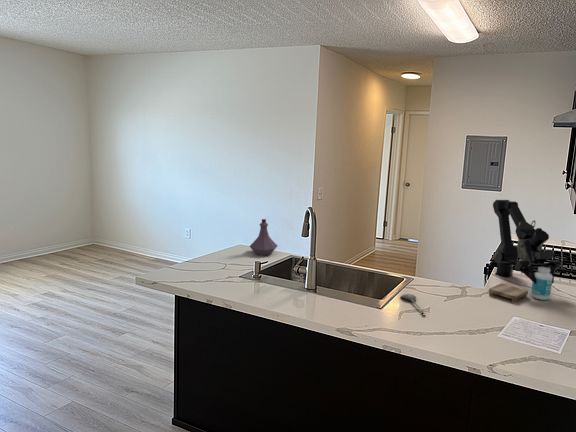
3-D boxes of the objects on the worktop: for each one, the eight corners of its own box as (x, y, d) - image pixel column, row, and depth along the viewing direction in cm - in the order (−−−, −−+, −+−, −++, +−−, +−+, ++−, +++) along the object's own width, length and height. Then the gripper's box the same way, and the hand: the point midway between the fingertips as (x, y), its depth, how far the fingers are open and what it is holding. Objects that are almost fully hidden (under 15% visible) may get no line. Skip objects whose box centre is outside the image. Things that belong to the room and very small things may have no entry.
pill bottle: (548, 301, 196) (552, 272, 194) (529, 297, 201) (533, 268, 198) (550, 296, 202) (555, 268, 199) (532, 292, 207) (536, 264, 204)
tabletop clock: (532, 269, 241) (538, 223, 236) (514, 265, 247) (519, 221, 242) (539, 263, 252) (545, 219, 247) (522, 260, 258) (527, 217, 253)
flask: (276, 249, 271) (276, 216, 267) (279, 257, 255) (279, 222, 251) (248, 249, 269) (248, 216, 265) (249, 257, 253) (250, 222, 249)
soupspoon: (412, 298, 202) (398, 298, 201) (412, 290, 201) (398, 291, 201) (431, 316, 180) (415, 317, 180) (432, 308, 180) (415, 309, 179)
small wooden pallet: (488, 295, 204) (489, 288, 203) (500, 289, 211) (501, 283, 211) (515, 303, 195) (516, 296, 194) (527, 297, 202) (528, 290, 202)
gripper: (521, 243, 200) (533, 275, 191) (562, 243, 201) (575, 275, 193) (509, 254, 209) (520, 286, 201) (548, 254, 210) (560, 285, 202)
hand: (544, 283), depth 199 cm, fingers closed on pill bottle, 7 cm apart
